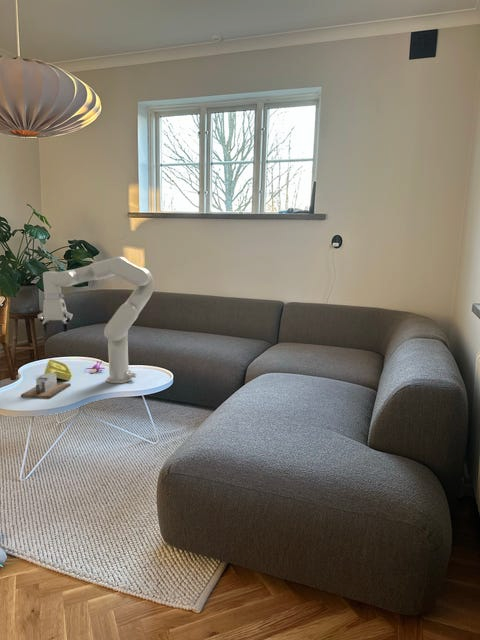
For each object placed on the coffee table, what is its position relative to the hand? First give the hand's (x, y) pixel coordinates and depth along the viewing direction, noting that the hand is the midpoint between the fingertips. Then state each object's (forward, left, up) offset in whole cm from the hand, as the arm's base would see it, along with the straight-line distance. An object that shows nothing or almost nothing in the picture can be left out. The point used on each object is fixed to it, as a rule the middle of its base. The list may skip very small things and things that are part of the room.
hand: (56, 331), depth 209 cm
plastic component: (+5, -8, -26) cm, 28 cm away
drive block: (-1, +14, -25) cm, 28 cm away
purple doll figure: (-9, -26, -23) cm, 36 cm away
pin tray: (-1, +14, -26) cm, 30 cm away
